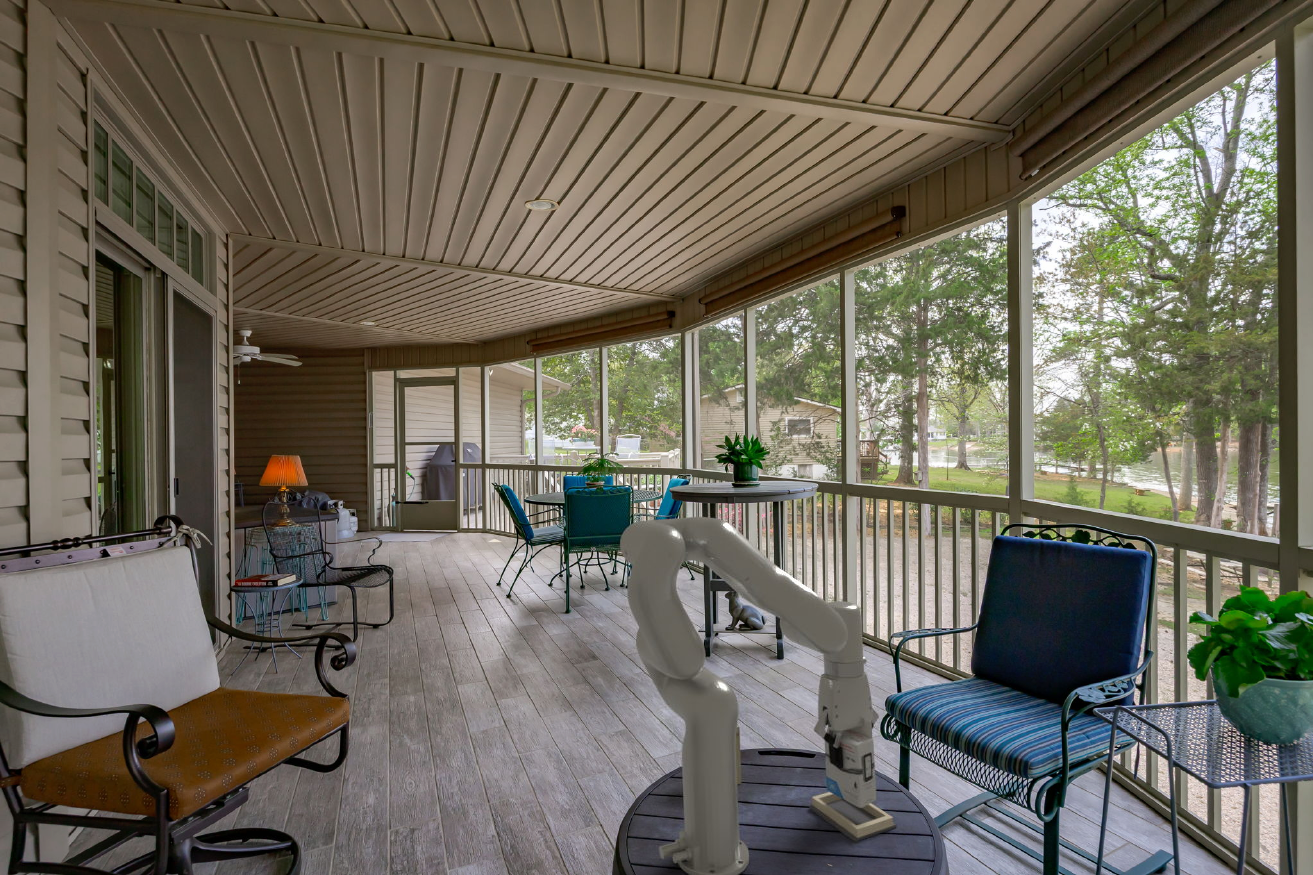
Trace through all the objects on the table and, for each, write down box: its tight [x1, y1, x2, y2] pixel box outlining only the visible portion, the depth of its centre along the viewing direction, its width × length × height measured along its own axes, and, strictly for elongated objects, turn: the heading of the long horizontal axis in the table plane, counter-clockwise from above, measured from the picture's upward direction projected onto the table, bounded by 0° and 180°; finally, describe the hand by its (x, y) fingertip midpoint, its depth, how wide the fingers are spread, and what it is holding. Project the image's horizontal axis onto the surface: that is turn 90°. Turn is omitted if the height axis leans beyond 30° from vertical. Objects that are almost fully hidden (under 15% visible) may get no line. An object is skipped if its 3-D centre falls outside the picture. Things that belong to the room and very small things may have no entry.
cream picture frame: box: [808, 791, 897, 843], centre depth 123 cm, size 10×13×2 cm
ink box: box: [824, 720, 877, 808], centre depth 124 cm, size 8×5×15 cm, turn 33°
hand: (849, 761), depth 124 cm, fingers closed on ink box, 5 cm apart
